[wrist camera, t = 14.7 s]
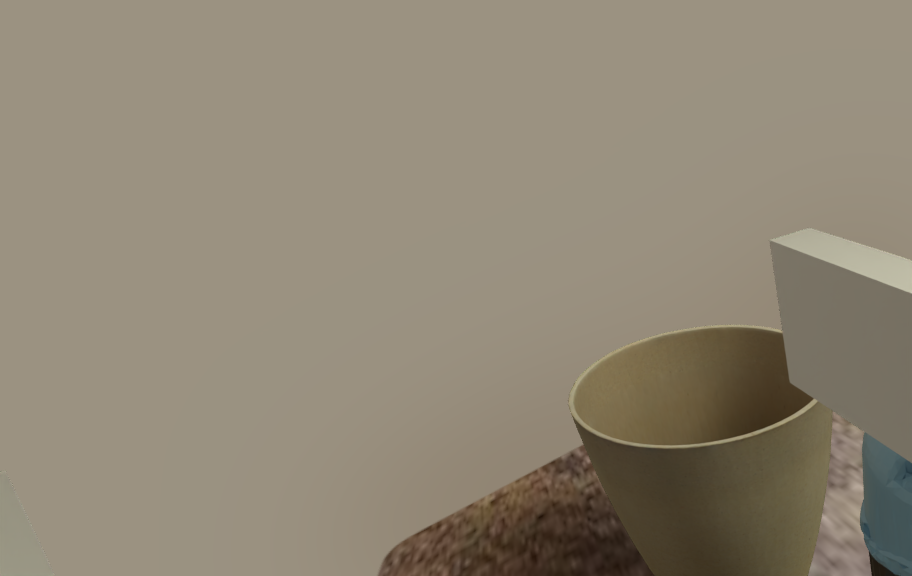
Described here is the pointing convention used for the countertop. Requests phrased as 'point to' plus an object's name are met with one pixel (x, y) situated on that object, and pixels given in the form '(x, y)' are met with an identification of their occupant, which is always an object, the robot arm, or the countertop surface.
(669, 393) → the plant pot
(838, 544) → the countertop surface
